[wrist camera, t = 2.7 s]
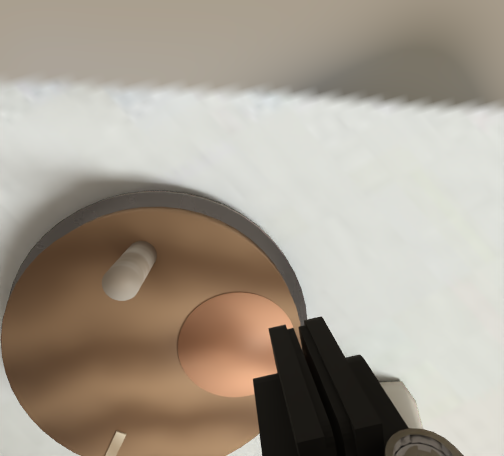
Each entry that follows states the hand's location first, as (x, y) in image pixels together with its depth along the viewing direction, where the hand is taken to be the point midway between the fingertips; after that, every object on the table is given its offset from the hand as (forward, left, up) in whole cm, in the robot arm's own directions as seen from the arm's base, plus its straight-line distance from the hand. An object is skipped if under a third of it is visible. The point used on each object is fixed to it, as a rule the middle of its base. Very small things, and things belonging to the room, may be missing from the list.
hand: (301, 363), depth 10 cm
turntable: (-8, +8, -16) cm, 20 cm away
